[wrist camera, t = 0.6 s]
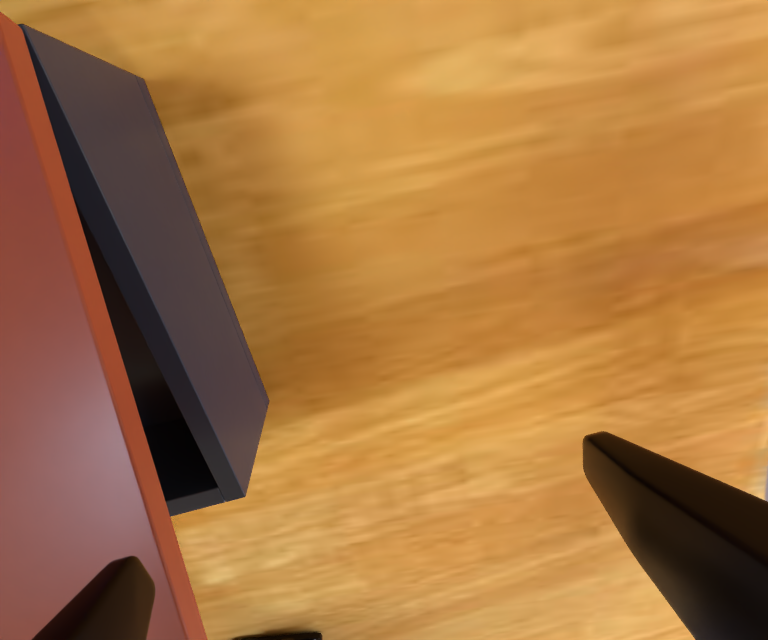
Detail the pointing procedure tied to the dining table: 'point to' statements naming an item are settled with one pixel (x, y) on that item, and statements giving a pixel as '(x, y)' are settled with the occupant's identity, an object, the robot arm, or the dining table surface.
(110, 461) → the lid
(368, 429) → the dining table surface
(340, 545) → the dining table surface
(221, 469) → the box
